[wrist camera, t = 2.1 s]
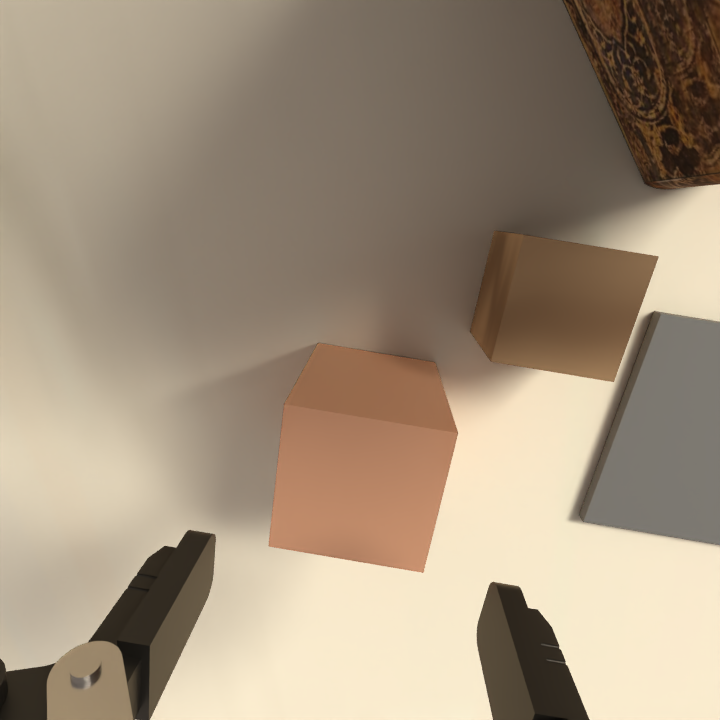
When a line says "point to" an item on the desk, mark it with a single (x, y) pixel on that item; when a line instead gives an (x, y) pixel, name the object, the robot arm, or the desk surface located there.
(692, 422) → the rubber mat
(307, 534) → the peach cube
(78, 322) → the desk surface
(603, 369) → the walnut block
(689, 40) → the antique leather tome
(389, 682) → the desk surface
